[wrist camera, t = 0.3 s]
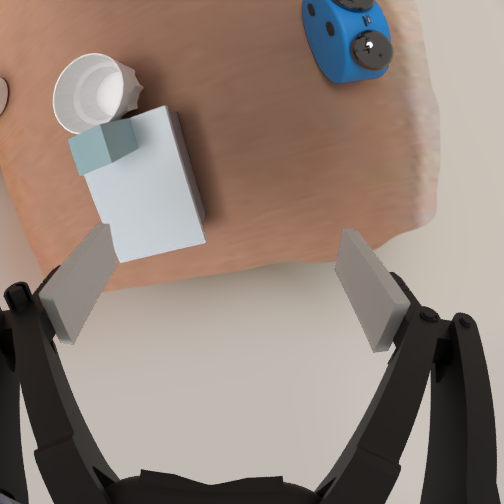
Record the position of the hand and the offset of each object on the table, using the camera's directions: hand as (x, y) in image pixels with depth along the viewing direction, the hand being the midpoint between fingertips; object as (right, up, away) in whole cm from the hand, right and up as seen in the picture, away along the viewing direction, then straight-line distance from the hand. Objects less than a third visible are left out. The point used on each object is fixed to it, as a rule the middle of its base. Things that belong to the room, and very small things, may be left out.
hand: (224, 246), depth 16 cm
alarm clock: (+12, +29, +16) cm, 35 cm away
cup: (-18, +23, +18) cm, 34 cm away
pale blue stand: (-13, +8, +18) cm, 24 cm away
